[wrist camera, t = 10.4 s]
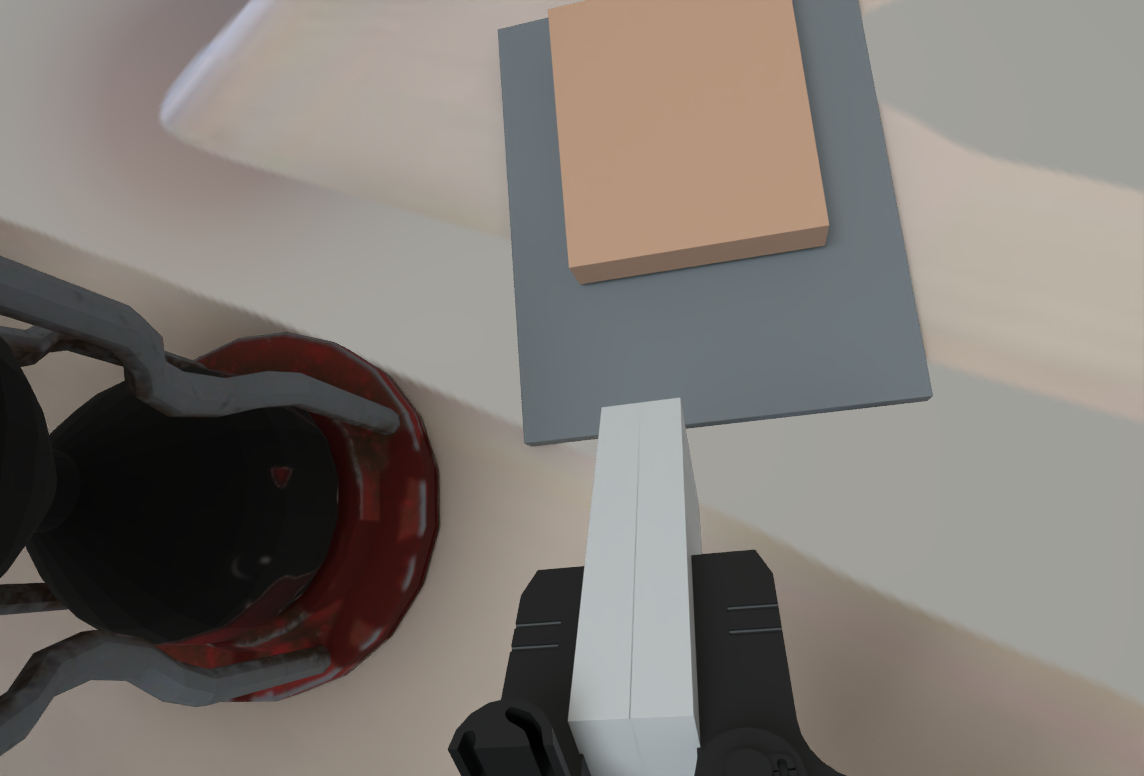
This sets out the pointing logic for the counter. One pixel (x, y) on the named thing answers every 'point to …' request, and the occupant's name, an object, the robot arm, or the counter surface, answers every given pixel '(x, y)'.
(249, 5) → the counter surface
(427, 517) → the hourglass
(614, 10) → the tile
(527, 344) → the mat
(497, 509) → the counter surface
